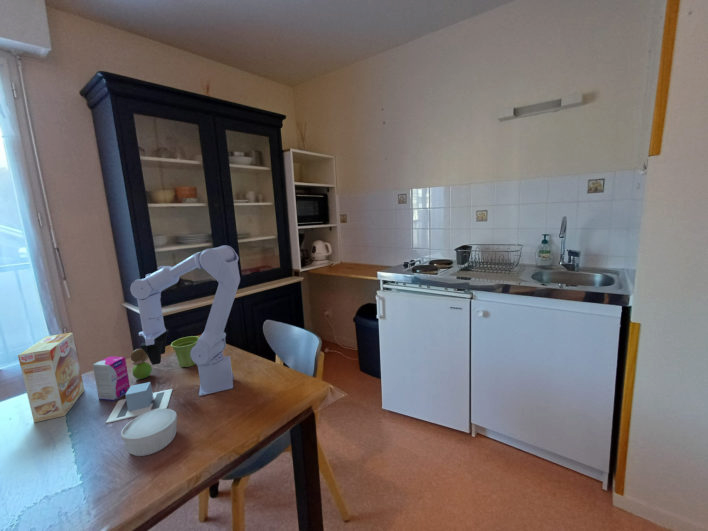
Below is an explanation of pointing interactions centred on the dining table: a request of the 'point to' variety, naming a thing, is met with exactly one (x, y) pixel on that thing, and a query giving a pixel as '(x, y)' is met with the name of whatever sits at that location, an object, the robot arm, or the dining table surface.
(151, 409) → the letter sheet
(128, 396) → the blue cube
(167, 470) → the dining table surface
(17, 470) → the dining table surface
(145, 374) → the snail figurine
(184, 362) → the plant pot
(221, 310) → the robot arm
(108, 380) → the supplement box
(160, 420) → the ramekin
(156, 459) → the dining table surface
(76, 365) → the coffeecake box
